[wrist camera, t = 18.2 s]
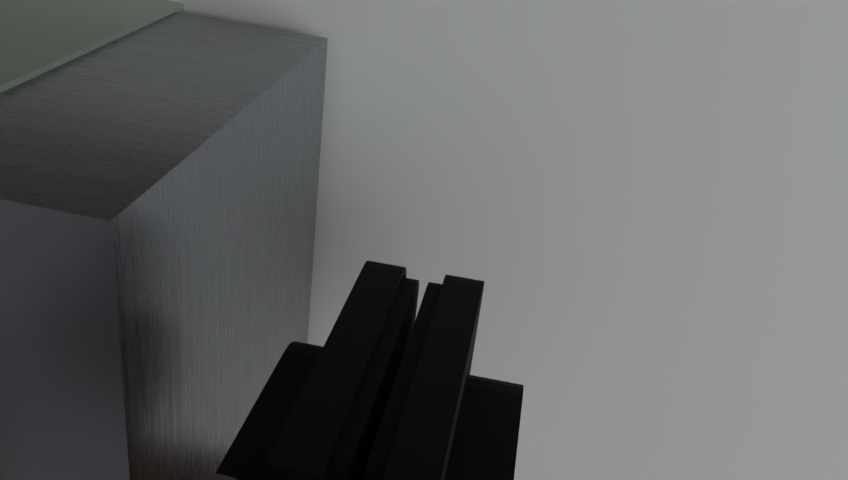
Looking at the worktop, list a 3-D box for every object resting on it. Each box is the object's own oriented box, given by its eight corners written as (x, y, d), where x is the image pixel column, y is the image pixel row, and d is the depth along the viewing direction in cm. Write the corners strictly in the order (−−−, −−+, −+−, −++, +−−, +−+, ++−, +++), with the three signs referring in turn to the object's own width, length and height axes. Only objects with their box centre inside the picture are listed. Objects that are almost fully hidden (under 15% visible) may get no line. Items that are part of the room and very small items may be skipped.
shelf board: (-481, -269, 14) (-540, -274, 13) (1107, -28, 11) (1143, -19, 10) (-272, 313, 19) (-304, 331, 19) (803, 555, 17) (812, 587, 16)
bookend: (175, 11, 13) (-159, 166, 7) (328, 37, 12) (110, 220, 7) (184, 362, 16) (-36, 661, 10) (304, 389, 16) (146, 708, 10)
